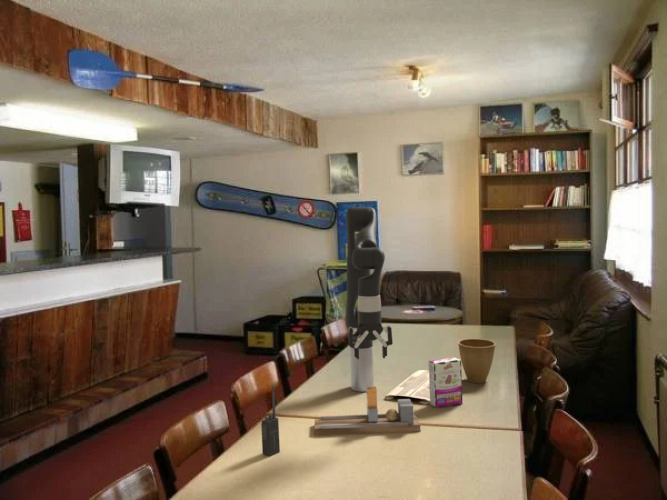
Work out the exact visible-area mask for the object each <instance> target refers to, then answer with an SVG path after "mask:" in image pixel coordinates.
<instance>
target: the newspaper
mask: <svg viewBox="0 0 667 500" xmlns="http://www.w3.org/2000/svg"><path fill="white" fill-rule="evenodd" d="M397 396H399V397H405V398H406V397H407V398H413V399H414V398H415V399H420V401H419V402H418V403H420V404H425V405H431V404H430V386H429V369H428V370H427V369H425V370H424V369H419V370H416V371H415V372H413V373H412V374H411V375H409V376H408V377H407V378H405V379H404V380H403V381H402V382H401V383H400V384H398V385H397V386H396V387H394V388H393V389H392V390H391V391H390V392H389V393H387V394H386V395H384V399H385V400H393V399H395V398H396V397H397Z"/></svg>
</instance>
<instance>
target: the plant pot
mask: <svg viewBox="0 0 667 500" xmlns="http://www.w3.org/2000/svg"><path fill="white" fill-rule="evenodd" d="M457 343H458V344H457V345H458V351H459V356H460V360H461V366H462V368H463V372H464V373H465V377H466V380H467V381H468V382H470V383H473V384H481V383H485V382H486V381H487V379H488V377H489V374H490V371H491V369H492V364H493V360H494V355H495V350H496V349H495V348H496V343H495V342H494V341H492V340H489V339H482V338H465V339H461V340H459V341H458V342H457Z"/></svg>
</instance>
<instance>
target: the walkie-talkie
mask: <svg viewBox="0 0 667 500" xmlns="http://www.w3.org/2000/svg"><path fill="white" fill-rule="evenodd" d="M271 395H272V397H271V398H272V400H271V401H272V403H271V405H272V408H271V409H272V414H268V415H267V416H265V417H264V419H263V420H261V424H260V426H261V443H262V444H261V446H262V454H263V455H264V456H267V457H272V456H274V455H277V454H279V453H280V452H281V451H280V450H281V449H280V448H281V447H280V428H279V427H280V426H279V417H277V414H276V400H275V398H276V397H275V385H272V386H271Z"/></svg>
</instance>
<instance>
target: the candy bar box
mask: <svg viewBox="0 0 667 500" xmlns="http://www.w3.org/2000/svg"><path fill="white" fill-rule="evenodd" d="M428 370H429V386H430V402H429V403H430V404H429V405H431V406H432V407H434V408H437V409H438V408H444V407H449V406H450V407H451V406H457V405H462V404H463V375H462V372H463V371H462V361H461V358H458V357H448V358H447V357H446V358H441V359H430V360H428Z"/></svg>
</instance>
